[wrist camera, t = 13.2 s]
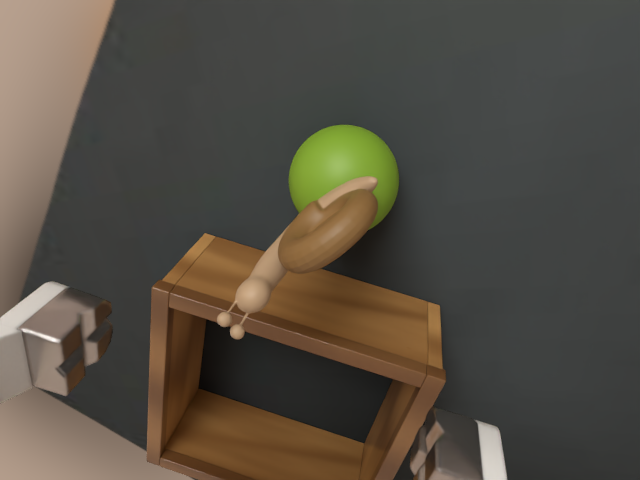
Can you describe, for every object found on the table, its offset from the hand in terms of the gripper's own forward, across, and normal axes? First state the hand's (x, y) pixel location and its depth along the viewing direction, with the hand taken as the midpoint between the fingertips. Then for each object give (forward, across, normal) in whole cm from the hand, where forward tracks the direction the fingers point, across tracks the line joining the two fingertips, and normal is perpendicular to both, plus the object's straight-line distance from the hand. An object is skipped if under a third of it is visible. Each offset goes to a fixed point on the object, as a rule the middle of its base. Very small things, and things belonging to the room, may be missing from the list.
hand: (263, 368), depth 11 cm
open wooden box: (+15, 0, +16) cm, 22 cm away
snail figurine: (+16, 0, +1) cm, 16 cm away
